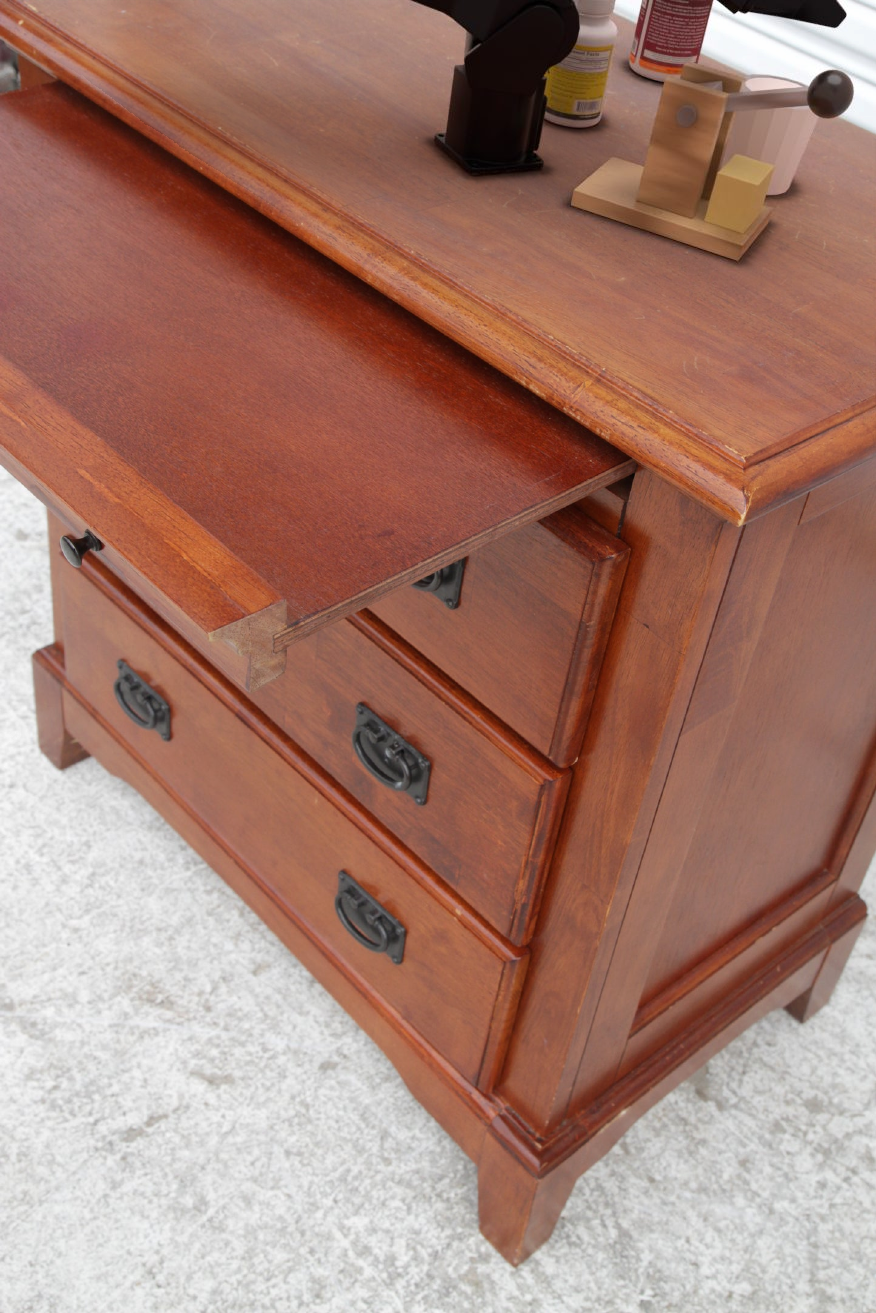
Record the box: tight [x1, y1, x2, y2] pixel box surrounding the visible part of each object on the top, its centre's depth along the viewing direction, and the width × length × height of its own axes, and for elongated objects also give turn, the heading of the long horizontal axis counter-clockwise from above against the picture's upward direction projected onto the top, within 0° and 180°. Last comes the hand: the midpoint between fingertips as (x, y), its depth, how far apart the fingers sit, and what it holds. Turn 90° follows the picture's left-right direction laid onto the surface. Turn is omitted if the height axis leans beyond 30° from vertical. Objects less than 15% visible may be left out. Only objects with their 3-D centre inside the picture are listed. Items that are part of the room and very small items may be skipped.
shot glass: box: [720, 73, 820, 196], centre depth 100 cm, size 7×7×7 cm
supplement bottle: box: [544, 0, 619, 128], centre depth 104 cm, size 5×5×10 cm
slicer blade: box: [695, 69, 855, 120], centre depth 88 cm, size 12×3×3 cm, turn 63°
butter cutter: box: [570, 61, 774, 262], centre depth 92 cm, size 13×8×10 cm, turn 63°
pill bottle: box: [628, 0, 714, 83], centre depth 115 cm, size 6×6×11 cm
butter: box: [704, 154, 775, 234], centre depth 92 cm, size 4×3×4 cm
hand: (831, 0), depth 90 cm, fingers open, 9 cm apart
